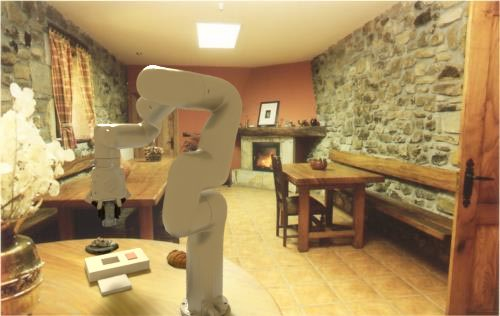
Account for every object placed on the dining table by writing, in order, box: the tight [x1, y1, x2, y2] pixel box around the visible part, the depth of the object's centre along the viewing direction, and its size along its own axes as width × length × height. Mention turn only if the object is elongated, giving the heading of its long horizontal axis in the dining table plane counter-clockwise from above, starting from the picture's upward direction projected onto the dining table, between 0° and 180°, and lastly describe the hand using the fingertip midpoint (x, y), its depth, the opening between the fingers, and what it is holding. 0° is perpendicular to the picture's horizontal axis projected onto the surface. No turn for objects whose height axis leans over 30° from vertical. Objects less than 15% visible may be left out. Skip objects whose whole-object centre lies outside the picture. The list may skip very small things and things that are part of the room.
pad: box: [97, 274, 133, 297], centre depth 94 cm, size 8×8×1 cm
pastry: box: [166, 249, 186, 269], centre depth 110 cm, size 9×7×4 cm
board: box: [84, 247, 150, 283], centre depth 106 cm, size 12×18×3 cm, turn 123°
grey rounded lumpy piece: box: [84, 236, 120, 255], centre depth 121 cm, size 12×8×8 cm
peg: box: [102, 199, 117, 228], centre depth 103 cm, size 4×4×8 cm
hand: (109, 218), depth 103 cm, fingers closed on peg, 4 cm apart
